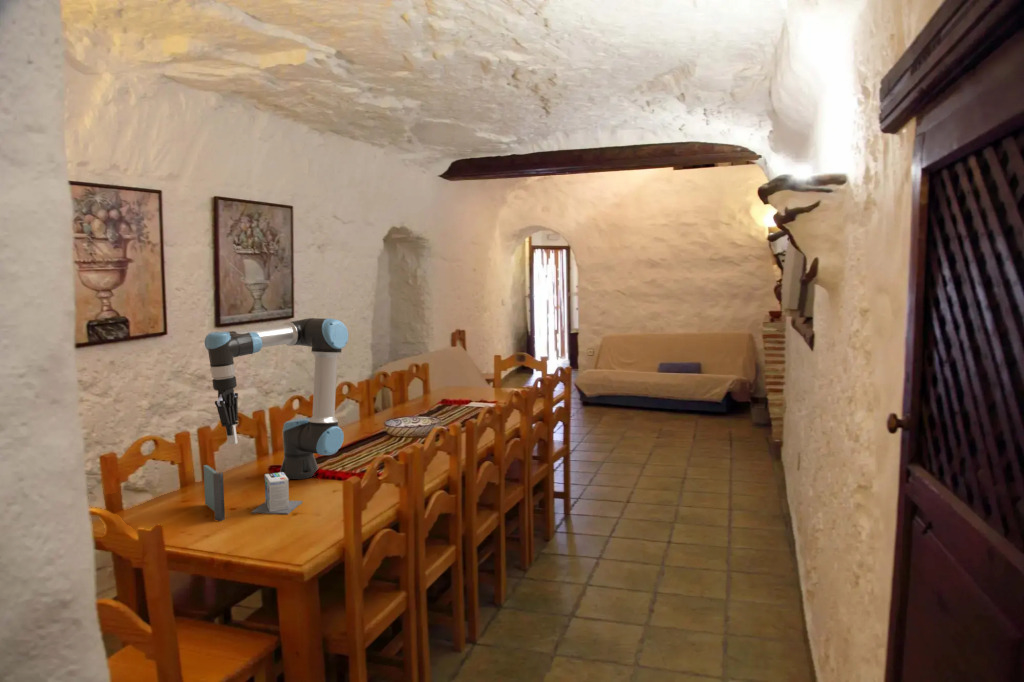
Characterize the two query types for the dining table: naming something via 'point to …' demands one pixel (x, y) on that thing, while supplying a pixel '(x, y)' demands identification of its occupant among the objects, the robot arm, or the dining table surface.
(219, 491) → the gate post
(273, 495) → the light bulb box
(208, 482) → the gate
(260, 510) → the rubber mat
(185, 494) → the dining table surface
